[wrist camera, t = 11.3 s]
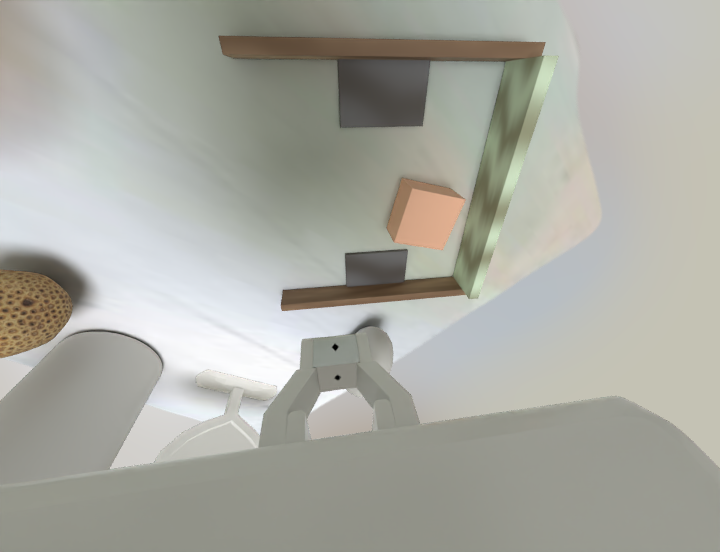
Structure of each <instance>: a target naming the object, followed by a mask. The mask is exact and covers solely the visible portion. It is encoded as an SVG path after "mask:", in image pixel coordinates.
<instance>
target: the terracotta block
mask: <svg viewBox="0 0 720 552" xmlns="http://www.w3.org/2000/svg"><path fill="white" fill-rule="evenodd" d="M465 200H466V199H464V198H463V197H461V196H460V195H459V194H457V193H456V192H454V191H453V190H452V189H450V188H445V187H441V186H436V185H432V184H427V183H423V182H418V181H414V180H409V179H405V178H402V180H401V183H400V186H399V190H398V193H397V196H396V199H395V203H394V206H393V209H392V212H391V215H390V219H389V222H388V225H387V230H388V232H389V234H390V235H391V237H392V239H393V241H394V243H400V244H406V245H413V246H419V247H426V248H432V249H439V250H443V248H444V246H445V244H446V242H447V240H448V237H449V235H450V233H451V231H452V229H453V227H454V224H455V222H456V220H457V218H458V216H459V213H460V211H461V209H462V207H463V205H464V203H465Z"/></svg>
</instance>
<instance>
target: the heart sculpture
mask: <svg viewBox="0 0 720 552" xmlns="http://www.w3.org/2000/svg"><path fill="white" fill-rule="evenodd" d="M196 383H197V385H198V387H202V388H207V389H212V390H216V391H221V392H225V393H230V395H229V399H228V402H227V406H226V409H225V413H224V415H222V416H219V417H216V418H213V419H210V420H207V421H204V422H202V423H200V424H198V425H196V426H194V427H192V428H190V429H188V430H186V431H184V432H182V433H181V434H180V435H179V436H177V437H176V438H175V439H174V440H173V441H172V442H171V443H169V444H168V445H167V446H166V447H165V448H164V449H162V450H161V451H160V453H159V455H158V456H157V458H156V460H155V461H154V463H157V462H163V461H170V460H177V459H184V458H191V457H198V456H205V455H212V454H218V453H225V452H232V451H239V450H246V449H253V448H258V446H259V440H260V435H259V434H258V433H257V432H256V430H255V429H253V428H252V427H251V426H250V425H249V424H248V423H247V422H246V421H245V420H244V419H242V418H241V417H240V416H239V414H238V412H239V408H240V403H241V399H242V396H244V397H248V398H253V399H258V400H262V401H266V400H268V399H270V398H272V397H274V396H275V395H276V393H277V388H276V386H273V385H269V384H265V383H261V382H257V381H253V380H249V379H245V378H240V377H236V376H232V375H228V374H224V373H220V372H216V371H212V370H206V371H204V372H202V373H200V374H199V375H197V376H196Z"/></svg>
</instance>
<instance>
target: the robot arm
mask: <svg viewBox="0 0 720 552" xmlns="http://www.w3.org/2000/svg"><path fill="white" fill-rule="evenodd" d="M348 388H357V389H358V390H359V392H360V393H361V394H362V395H363V397H364V398H365V399H366V401H367V402H368V403H369V404H370V406H371V407H372V408H373V424H372V431H369V432H362V433H356V434H349V435H342V436H335V437H328V438H321V439H314V440H311V436H310V432H309V427H308V423H307V418H308V416H309V414H310V412H311V410H312V408H313V406H314V404H315V403H316V401H317V399H318V397H319V395H320V392H325V391H332V390H338V389H348ZM0 552H720V468H719V467H718V466H717V465H716V464H715V463H714V462H713V461H712V460H711V459H710V458H709V457H708V456H707V455H706V454H705V453H704V452H703V451H702V450H701V449H700V448H699V447H698V446H697V445H696V444H695V443H694V442H693V441H692V440H691V439H690V438H689V437H688V436H687V435H685V434H684V433H683V432H682V431H681V430H680V429H678V428H677V427H676V426H675V425H673V424H672V423H670V422H669V421H667V420H665V419H663V418H662V417H660V416H658V415H656V414H654V413H652V412H651V411H649V410H647V409H645V408H643V407H641V406H639V405H637V404H635V403H633V402H631V401H629V400H627V399H625V398H622V397H617V396H610V397H602V398H596V399H589V400H582V401H575V402H568V403H561V404H555V405H547V406H540V407H534V408H527V409H520V410H513V411H506V412H499V413H493V414H486V415H479V416H472V417H465V418H459V419H452V420H445V421H438V422H431V423H424V424H420V422H419V418H418V415H417V412H416V409H415V406H414V403H413V399H412V396H411V394H410V393H409V392H408V391H407V390H405V389H404V388H403V387H402V386H401V385H400V384H399V383H398V382H397V381H396V380H395V379H394V378H393V377H392V376H391V375H390V374H389V373H388V372H387V371H386V370H385V369H384V368H382V367H381V366H380V365H379V364H378V363H377V362H376V361H372V357H371V352H370V347H369V342H368V338H367V334H366V333H358V334H348V335H339V336H333V337H320V338H309V339H302V342H301V358H300V370H296V371H295V373H294V374H293V375H292V377H291V378H290V380H289V381H288V382H287V384H286V385H285V386H284V388H283V389H282V390H281V392H280V393H279V394H278V396H277V397H276V398H275V400H274V401H273V402H272V404H271V405H270V406H269V408H268V409H267V410H266V412H265V413H264V415H263V421H262V427H261V433H260V440H259V446H258V448H253V449H246V450H239V451H232V452H225V453H218V454H212V455H205V456H198V457H191V458H184V459H177V460H170V461H163V462H157V463H150V464H143V465H136V466H129V467H123V468H115V469H108V470H101V471H95V472H88V473H81V474H74V475H67V476H60V477H53V478H46V479H39V480H32V481H25V482H18V483H11V484H4V485H0Z"/></svg>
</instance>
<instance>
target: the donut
mask: <svg viewBox="0 0 720 552" xmlns="http://www.w3.org/2000/svg"><path fill="white" fill-rule="evenodd" d="M358 333H366V334H367V338H368V342H369V347H370V352H371V357H372V361H376V362H377V363H378V364H379V365H380V366H381V367H382V368H384V369H385V370H386V371H387V372H388V373H389V374H390V371H391V367H392V364H393V347H392V342H391V340H390V338H389V336H388V335H387V333H386V332H384V331H383V330H382V329H380V328H378V327H373V326H368V327H365V328H362V329H361V330H359V331H358V332H357V333H355V334H358ZM347 391H348V392H349V393H351V394H353V395H355V396H357V397H363V395H362V394H361V393H360V392H359V390H358V389H357V388H348V389H347Z"/></svg>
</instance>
